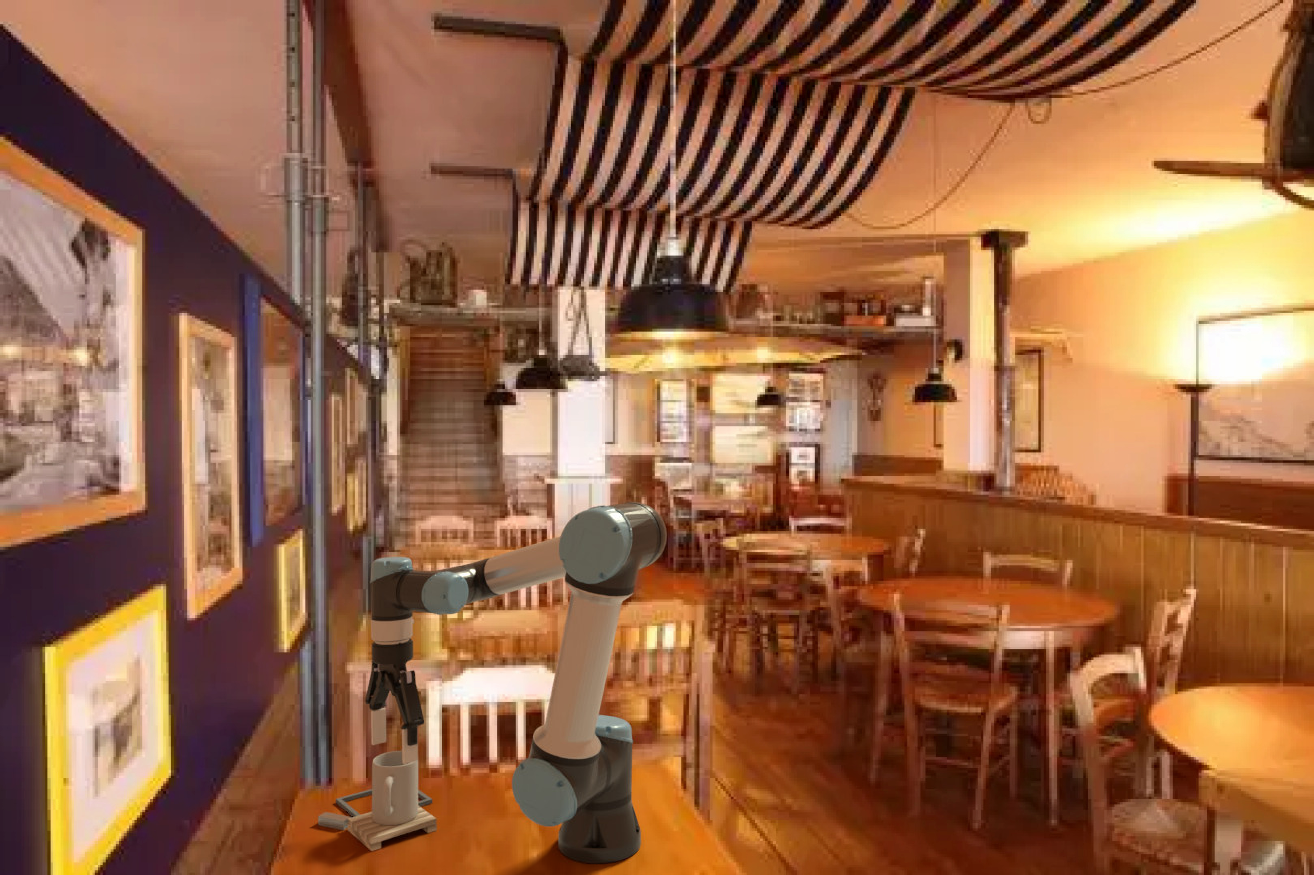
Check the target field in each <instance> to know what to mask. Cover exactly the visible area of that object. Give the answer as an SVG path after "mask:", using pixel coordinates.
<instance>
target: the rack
mask: <svg viewBox="0 0 1314 875" xmlns="http://www.w3.org/2000/svg"><path fill="white" fill-rule="evenodd" d="M350 817H351V818H348V824H347V829H346V830H347V831H348V832H349V833H350V834H351V835H353V837H355V838H356V839H357V840H358V841H360V843H362V844H363V846H365V847H366V848H368V850H369V851H371V852H373V851H376V850H379V849H382V842H383V841H387V840H390V839H392V838H395V837H399V836H401V835H406V834H407V833H411V832H414V831H418V830H420V829H422V830H423V831H425V832H426V833H427V834H428V833H429V834H430V833H432V832H435V831H438V830H437V826H438V824H437V817H435V816H433V814H431V813H429V812H428V811H426V810H425V809H424V808H422V806H421V807H420V806H418V815H417V816H416V818H414V819H413V820H411V821H409V822H407V823H404V824H399V825H390V826H388V825H380V824H377V823H375V822H374V821H373V820H372V811H369V812H366V813H361V814H360V815H358V816H355V817H352V816H350Z"/></svg>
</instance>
